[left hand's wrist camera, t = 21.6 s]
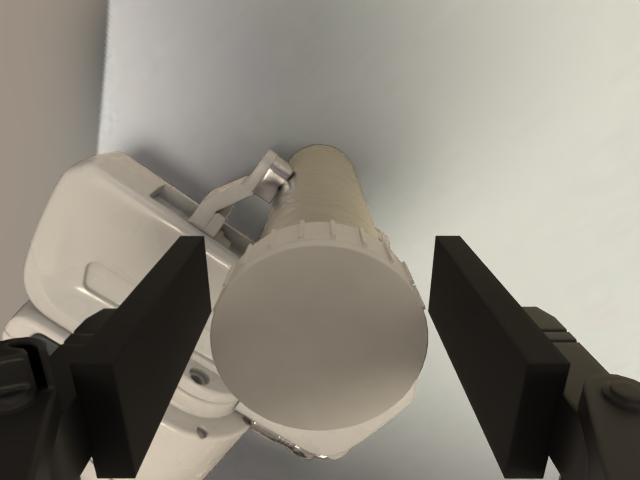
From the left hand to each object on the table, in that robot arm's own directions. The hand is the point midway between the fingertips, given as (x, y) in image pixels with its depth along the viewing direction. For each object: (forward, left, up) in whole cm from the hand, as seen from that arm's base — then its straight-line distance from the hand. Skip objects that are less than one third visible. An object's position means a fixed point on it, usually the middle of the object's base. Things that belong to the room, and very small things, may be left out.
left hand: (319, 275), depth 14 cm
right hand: (-1, 0, -7) cm, 7 cm away
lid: (0, 0, +4) cm, 4 cm away
